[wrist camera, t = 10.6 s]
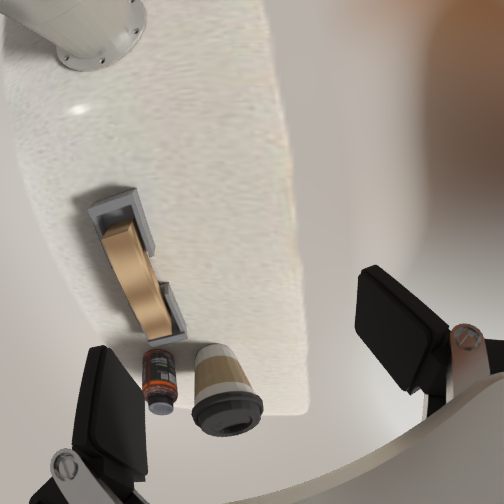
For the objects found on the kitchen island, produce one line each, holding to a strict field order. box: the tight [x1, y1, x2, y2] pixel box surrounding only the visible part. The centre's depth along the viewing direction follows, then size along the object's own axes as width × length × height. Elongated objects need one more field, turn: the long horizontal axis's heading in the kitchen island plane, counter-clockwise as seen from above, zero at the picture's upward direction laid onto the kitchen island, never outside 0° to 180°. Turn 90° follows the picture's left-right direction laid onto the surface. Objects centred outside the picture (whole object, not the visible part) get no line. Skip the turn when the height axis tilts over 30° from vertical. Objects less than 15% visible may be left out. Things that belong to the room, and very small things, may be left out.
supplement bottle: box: [142, 350, 178, 415], centre depth 40 cm, size 6×6×11 cm
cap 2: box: [129, 282, 188, 347], centre depth 39 cm, size 9×6×3 cm
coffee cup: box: [191, 344, 263, 437], centre depth 41 cm, size 11×11×15 cm
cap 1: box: [87, 188, 155, 268], centre depth 32 cm, size 9×6×3 cm
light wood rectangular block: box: [101, 218, 172, 340], centre depth 34 cm, size 16×4×5 cm, turn 11°
